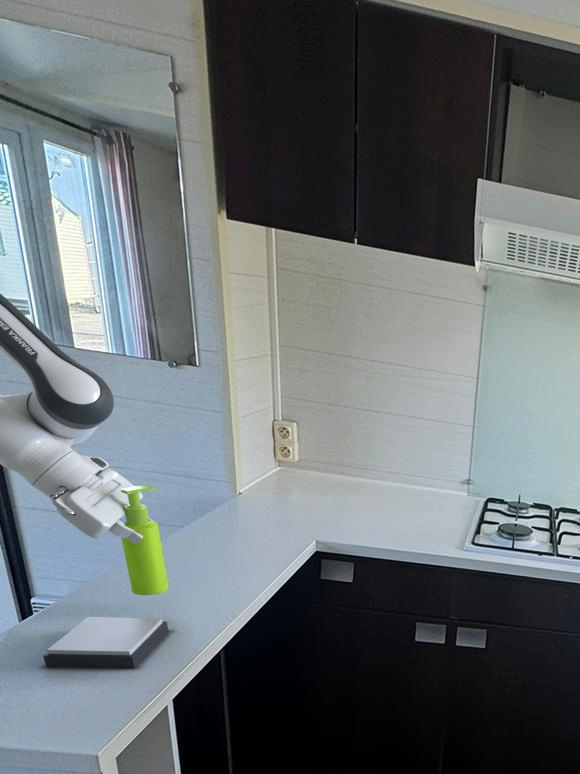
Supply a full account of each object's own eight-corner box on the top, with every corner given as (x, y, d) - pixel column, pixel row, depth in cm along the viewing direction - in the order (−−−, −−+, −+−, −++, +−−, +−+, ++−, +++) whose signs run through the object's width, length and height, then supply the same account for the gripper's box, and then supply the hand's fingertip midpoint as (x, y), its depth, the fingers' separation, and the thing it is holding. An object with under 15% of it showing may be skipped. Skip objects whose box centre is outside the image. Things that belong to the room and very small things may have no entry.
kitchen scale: (46, 667, 103) (41, 651, 102) (89, 629, 114) (86, 615, 113) (134, 668, 106) (131, 653, 104) (168, 631, 117) (166, 617, 116)
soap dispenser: (181, 587, 124) (164, 488, 116) (144, 597, 118) (124, 493, 110) (161, 579, 126) (144, 481, 118) (125, 589, 120) (104, 487, 112)
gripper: (58, 484, 101) (141, 541, 108) (104, 455, 118) (172, 506, 126) (31, 509, 101) (115, 565, 109) (80, 477, 119) (150, 527, 126)
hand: (146, 533), depth 117 cm, fingers closed on soap dispenser, 6 cm apart
